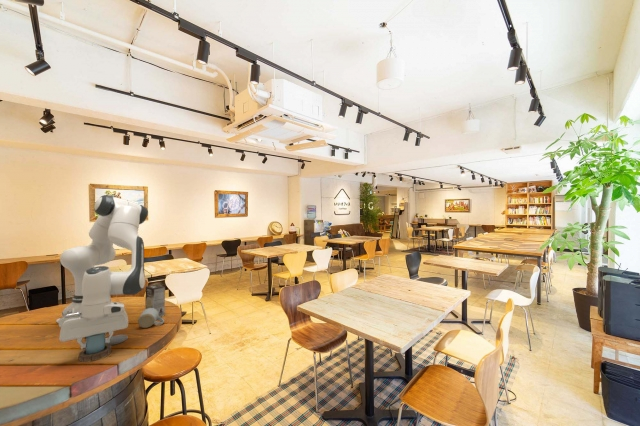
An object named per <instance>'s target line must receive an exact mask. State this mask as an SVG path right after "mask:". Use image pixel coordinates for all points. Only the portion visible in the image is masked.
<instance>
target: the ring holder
mask: <svg viewBox="0 0 640 426" xmlns="http://www.w3.org/2000/svg"><path fill="white" fill-rule="evenodd" d="M111 353H112V345H108V344H105V350H104V351H102V352H99V353H95V354H89V355H86V348H85V349H82V350H81V351H80V352H79V353H78V361H79V362H83V363H86V362H93V361H97V360H100V359H104V358H105V357H108V356H109V355H110V354H111Z"/></svg>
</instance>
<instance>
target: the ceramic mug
mask: <svg viewBox="0 0 640 426" xmlns="http://www.w3.org/2000/svg"><path fill="white" fill-rule="evenodd" d="M158 316H159V313H158V311H157V310H156V309H154V308H147V309H145V308H144V310H143V311H142V312H141V314H140V316H139V317H138V320H137V324H138V326H139V327H140V328H142V329H147V328H150V327H152V326H153V325H154V326H155V325H156V326H162V325H164V323H165V320H164V318H162V317H158Z"/></svg>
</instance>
